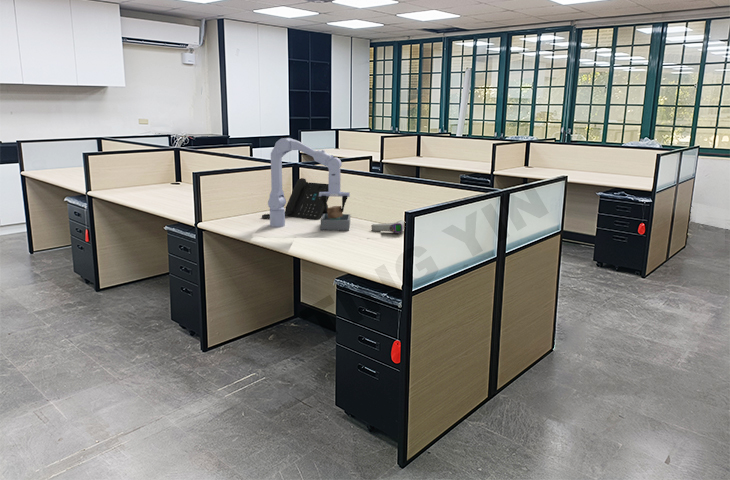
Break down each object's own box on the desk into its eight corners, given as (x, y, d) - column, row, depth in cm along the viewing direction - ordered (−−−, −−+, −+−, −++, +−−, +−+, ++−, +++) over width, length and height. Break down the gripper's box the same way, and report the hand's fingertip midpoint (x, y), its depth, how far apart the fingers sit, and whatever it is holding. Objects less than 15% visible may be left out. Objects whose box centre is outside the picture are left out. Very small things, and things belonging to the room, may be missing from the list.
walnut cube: (328, 218, 265) (326, 208, 264) (335, 216, 268) (333, 206, 267) (335, 218, 261) (334, 208, 260) (342, 216, 265) (341, 205, 264)
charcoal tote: (323, 223, 278) (323, 213, 277) (350, 224, 278) (350, 214, 277) (320, 230, 261) (320, 219, 260) (349, 230, 261) (349, 220, 260)
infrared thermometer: (370, 223, 260) (401, 223, 256) (376, 219, 271) (406, 219, 267) (371, 233, 261) (402, 233, 257) (377, 228, 272) (407, 228, 268)
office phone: (258, 218, 291) (257, 180, 287) (289, 211, 316) (288, 176, 312) (305, 223, 278) (304, 184, 274) (333, 215, 303) (333, 179, 299)
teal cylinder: (328, 224, 272) (327, 210, 271) (335, 223, 276) (334, 209, 274) (335, 225, 269) (334, 211, 267) (342, 224, 272) (341, 210, 271)
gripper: (318, 183, 257) (318, 212, 260) (349, 184, 257) (349, 212, 260) (319, 182, 264) (319, 210, 267) (349, 182, 264) (349, 210, 267)
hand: (334, 211), depth 264 cm, fingers closed on walnut cube, 7 cm apart
